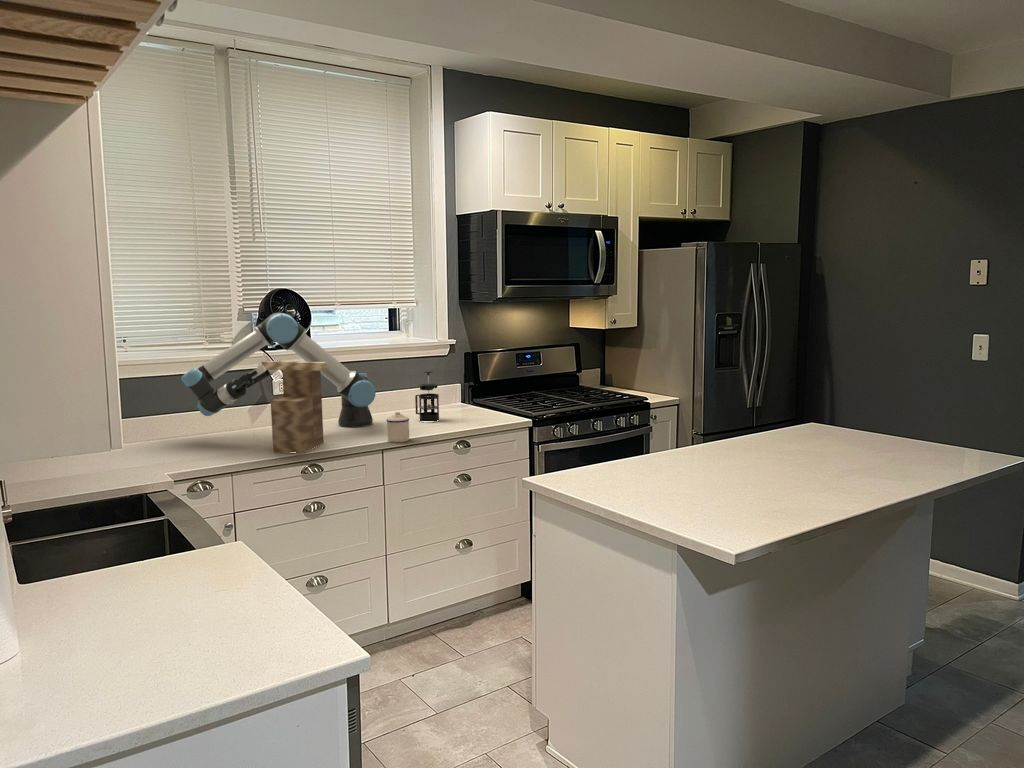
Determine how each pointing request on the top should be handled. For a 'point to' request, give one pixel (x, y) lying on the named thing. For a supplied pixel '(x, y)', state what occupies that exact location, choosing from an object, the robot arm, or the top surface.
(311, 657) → the top surface
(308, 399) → the walnut shelf
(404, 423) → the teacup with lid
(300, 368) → the beech rod
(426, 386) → the french press
